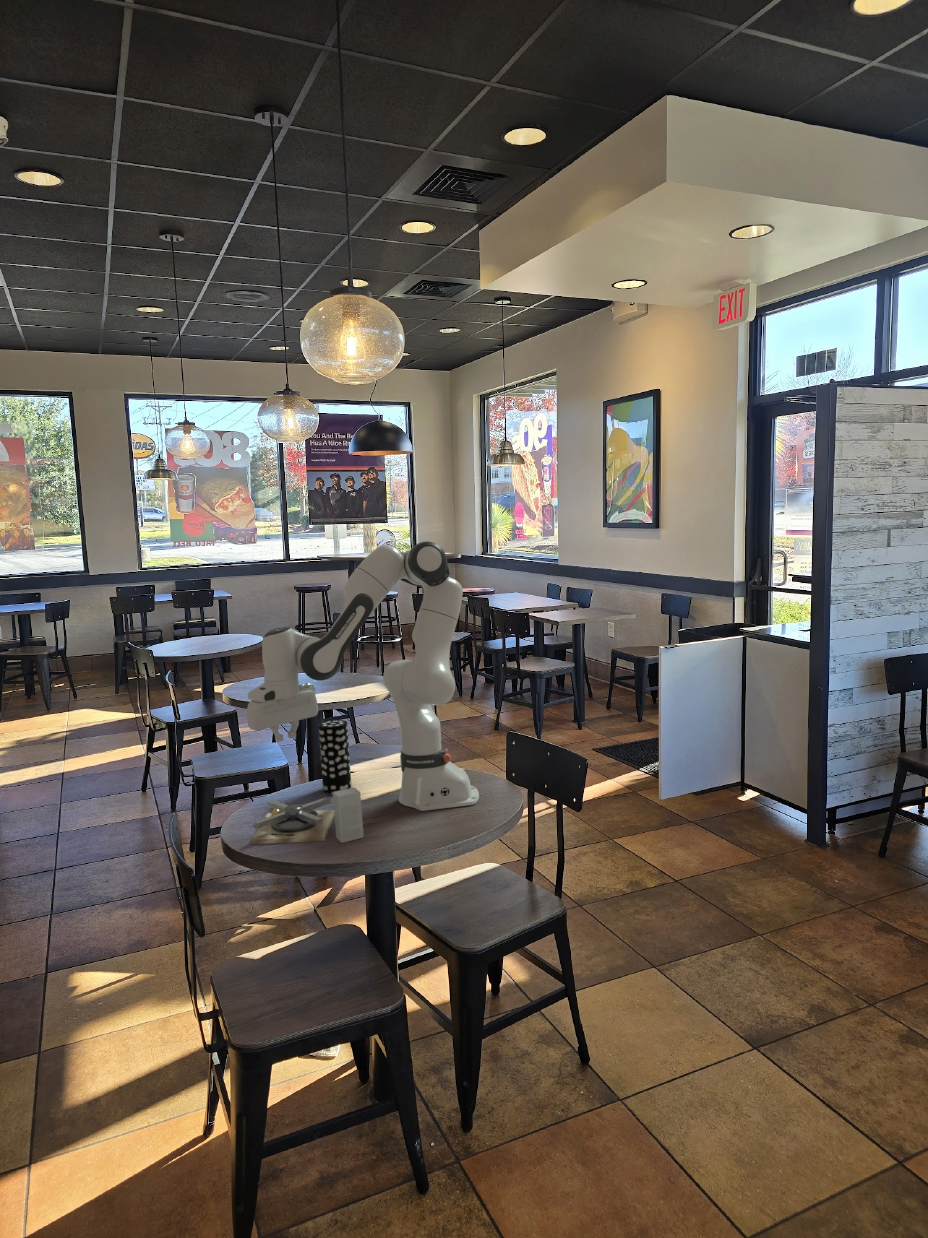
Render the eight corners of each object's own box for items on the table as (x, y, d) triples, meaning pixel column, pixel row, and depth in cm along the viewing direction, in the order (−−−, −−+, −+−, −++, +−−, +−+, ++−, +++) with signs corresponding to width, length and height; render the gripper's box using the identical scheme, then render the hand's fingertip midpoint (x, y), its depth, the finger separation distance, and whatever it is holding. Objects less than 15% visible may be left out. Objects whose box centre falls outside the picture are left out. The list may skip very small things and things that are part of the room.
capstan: (331, 809, 215) (330, 794, 214) (322, 834, 198) (321, 817, 198) (269, 812, 214) (268, 797, 214) (254, 837, 198) (253, 821, 197)
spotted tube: (354, 784, 239) (350, 719, 237) (347, 794, 231) (343, 727, 228) (327, 785, 240) (322, 720, 237) (319, 794, 232) (315, 727, 229)
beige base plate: (334, 814, 216) (334, 809, 215) (324, 840, 198) (324, 835, 198) (268, 817, 215) (267, 812, 215) (251, 844, 197) (251, 838, 197)
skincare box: (358, 832, 202) (355, 786, 201) (363, 838, 198) (361, 791, 197) (335, 837, 199) (332, 791, 198) (340, 843, 196) (337, 796, 194)
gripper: (307, 680, 222) (310, 729, 223) (242, 694, 207) (246, 746, 209) (321, 683, 217) (324, 732, 219) (255, 697, 203) (259, 750, 204)
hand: (285, 739), depth 214 cm, fingers open, 3 cm apart
